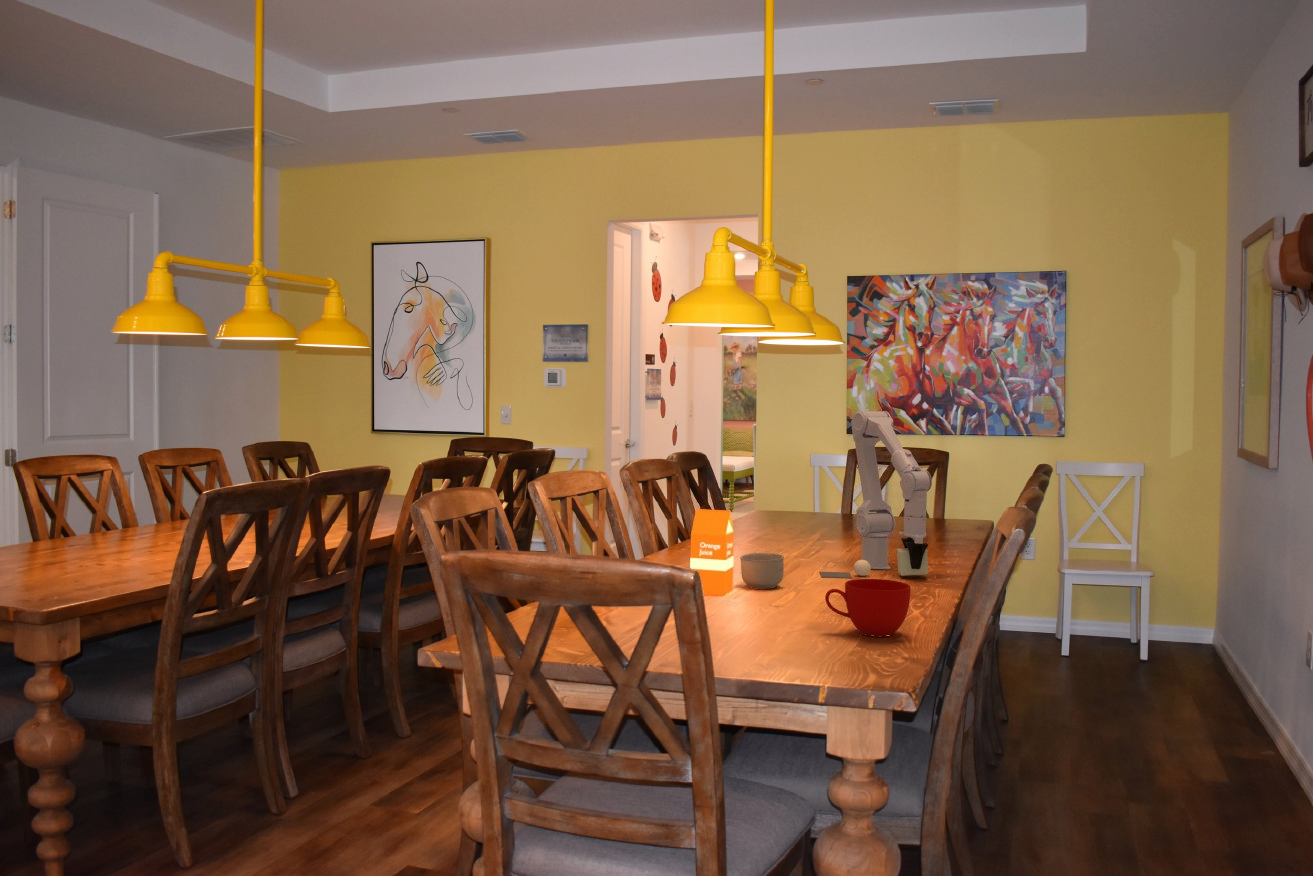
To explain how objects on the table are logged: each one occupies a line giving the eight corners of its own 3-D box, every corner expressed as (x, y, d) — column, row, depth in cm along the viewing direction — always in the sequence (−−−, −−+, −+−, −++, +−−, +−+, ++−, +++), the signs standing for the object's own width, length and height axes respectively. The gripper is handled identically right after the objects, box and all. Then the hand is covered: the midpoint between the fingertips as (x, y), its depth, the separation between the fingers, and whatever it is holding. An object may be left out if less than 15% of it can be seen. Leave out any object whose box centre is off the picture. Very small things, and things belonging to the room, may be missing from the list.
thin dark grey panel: (819, 572, 280) (819, 571, 280) (849, 573, 280) (849, 572, 280) (821, 577, 272) (821, 576, 272) (852, 578, 272) (852, 577, 272)
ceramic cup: (820, 625, 215) (821, 577, 215) (902, 627, 214) (903, 579, 214) (828, 640, 202) (830, 589, 202) (915, 641, 201) (917, 591, 201)
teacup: (785, 591, 252) (786, 559, 252) (741, 590, 252) (741, 558, 252) (779, 581, 266) (780, 550, 265) (737, 580, 266) (738, 549, 266)
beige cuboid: (924, 570, 277) (923, 547, 276) (928, 574, 271) (927, 550, 271) (898, 571, 277) (896, 548, 277) (901, 575, 271) (900, 552, 271)
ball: (852, 574, 278) (853, 558, 278) (869, 575, 277) (869, 558, 277) (854, 577, 273) (854, 560, 273) (871, 577, 273) (871, 561, 273)
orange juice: (724, 596, 245) (726, 512, 244) (689, 593, 248) (690, 510, 247) (733, 590, 252) (734, 509, 252) (698, 587, 255) (699, 507, 254)
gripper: (895, 512, 281) (894, 562, 282) (903, 518, 267) (902, 571, 267) (922, 513, 280) (920, 562, 281) (931, 519, 266) (930, 571, 266)
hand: (913, 567), depth 274 cm, fingers closed on beige cuboid, 6 cm apart
